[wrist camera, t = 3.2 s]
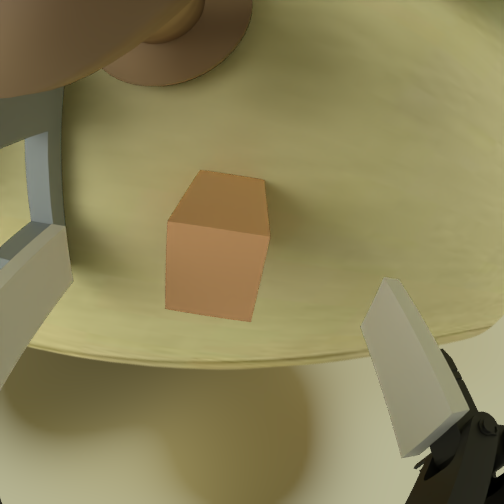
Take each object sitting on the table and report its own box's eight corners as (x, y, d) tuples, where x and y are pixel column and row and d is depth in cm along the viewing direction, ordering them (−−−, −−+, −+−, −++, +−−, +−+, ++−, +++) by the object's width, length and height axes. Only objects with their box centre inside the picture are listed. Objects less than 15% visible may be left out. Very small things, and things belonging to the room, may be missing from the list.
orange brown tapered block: (200, 170, 16) (167, 221, 10) (264, 179, 17) (270, 237, 11) (193, 233, 18) (165, 308, 12) (252, 242, 19) (250, 322, 12)
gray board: (42, 67, 12) (-25, 73, 7) (66, 64, 13) (-1, 66, 7) (50, 260, 19) (8, 309, 14) (70, 264, 20) (29, 317, 14)
